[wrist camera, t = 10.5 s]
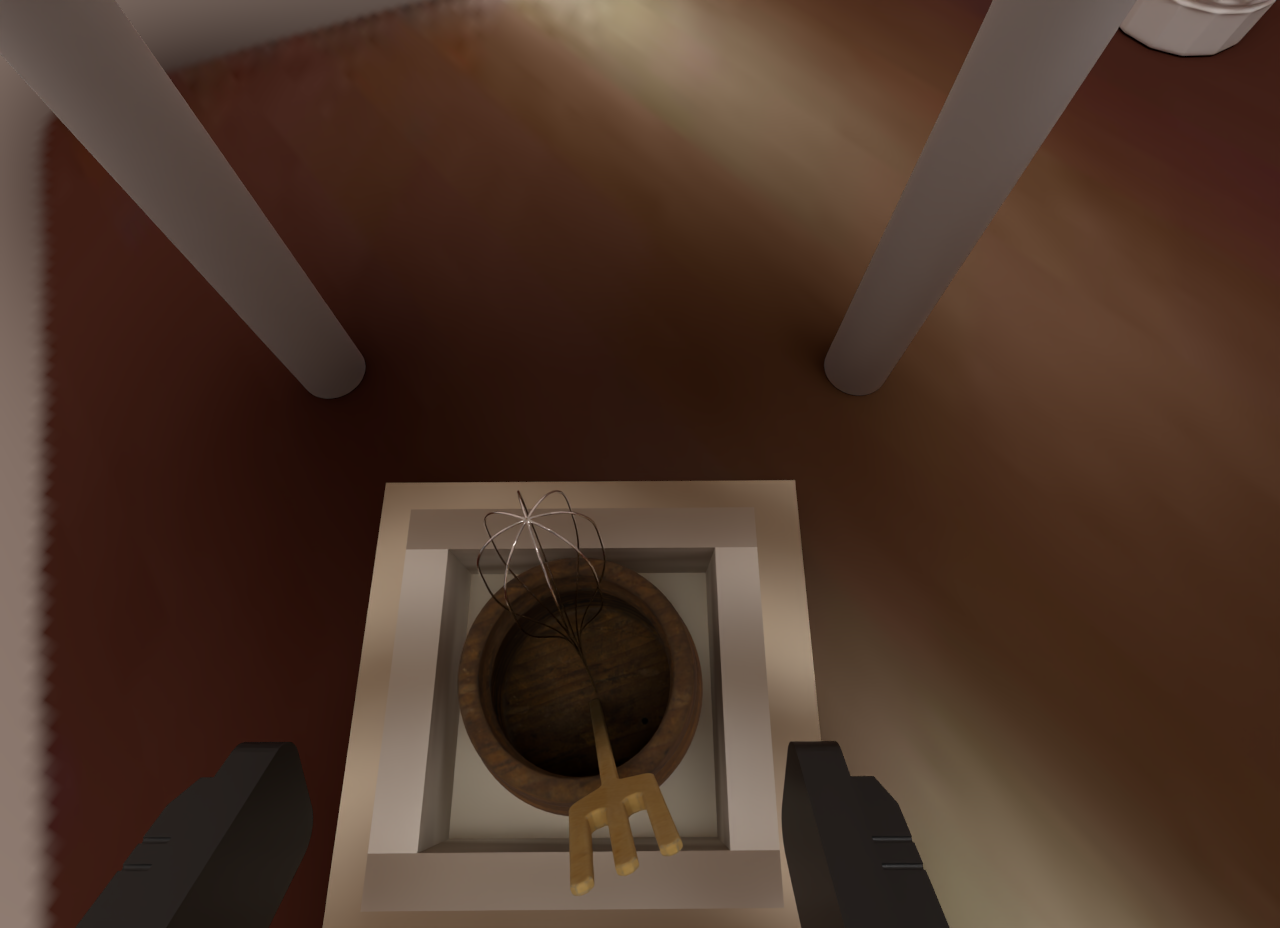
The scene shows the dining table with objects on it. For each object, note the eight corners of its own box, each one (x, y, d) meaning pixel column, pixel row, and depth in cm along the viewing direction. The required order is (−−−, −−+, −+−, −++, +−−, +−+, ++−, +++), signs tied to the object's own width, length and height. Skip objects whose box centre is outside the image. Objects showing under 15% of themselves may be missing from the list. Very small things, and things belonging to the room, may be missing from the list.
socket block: (834, 961, 19) (880, 1010, 16) (331, 966, 19) (258, 1016, 16) (789, 490, 25) (815, 444, 21) (395, 492, 25) (352, 447, 21)
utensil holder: (648, 573, 23) (662, 393, 12) (726, 771, 20) (837, 782, 9) (472, 639, 22) (304, 513, 11) (533, 854, 19) (399, 976, 8)
